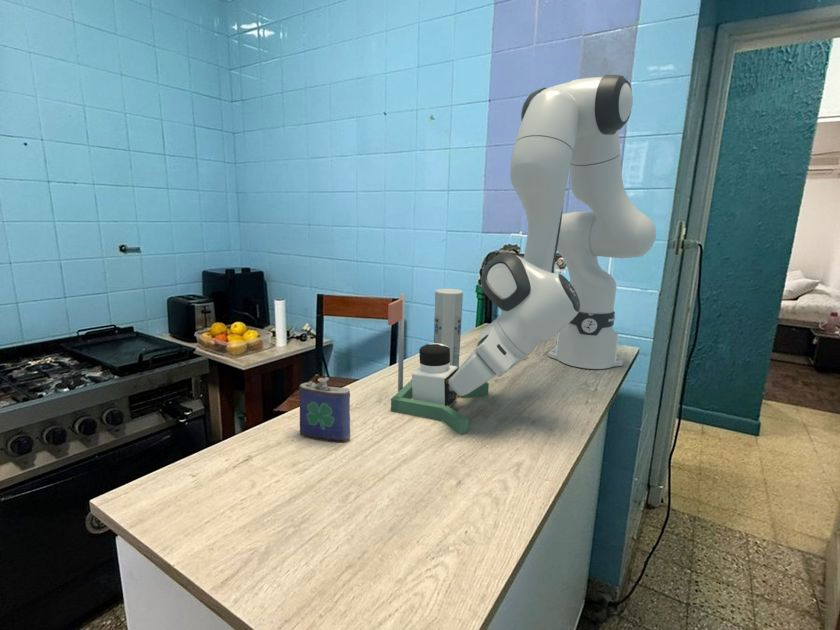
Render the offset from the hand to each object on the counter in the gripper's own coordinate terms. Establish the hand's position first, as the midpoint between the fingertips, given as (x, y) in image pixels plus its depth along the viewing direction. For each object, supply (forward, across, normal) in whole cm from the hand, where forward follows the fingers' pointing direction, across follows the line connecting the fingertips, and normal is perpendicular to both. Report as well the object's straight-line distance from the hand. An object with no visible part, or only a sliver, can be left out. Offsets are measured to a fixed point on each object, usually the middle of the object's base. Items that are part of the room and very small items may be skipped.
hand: (449, 386), depth 88 cm
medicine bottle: (+5, 0, +1) cm, 5 cm away
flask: (+15, +20, -8) cm, 26 cm away
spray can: (+8, -19, -1) cm, 21 cm away
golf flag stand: (+5, 0, +1) cm, 5 cm away
